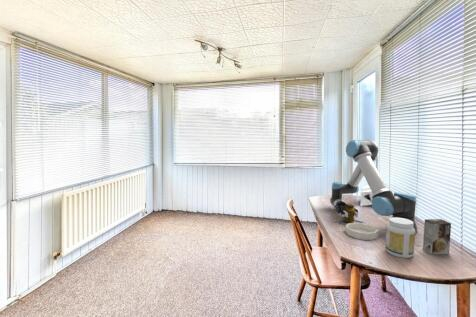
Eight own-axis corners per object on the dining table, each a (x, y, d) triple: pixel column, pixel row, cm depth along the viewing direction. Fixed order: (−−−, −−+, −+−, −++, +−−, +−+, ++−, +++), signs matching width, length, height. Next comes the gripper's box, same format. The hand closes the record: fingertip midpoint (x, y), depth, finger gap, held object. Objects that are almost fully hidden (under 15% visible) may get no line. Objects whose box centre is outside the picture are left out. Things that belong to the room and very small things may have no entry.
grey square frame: (363, 222, 172) (363, 221, 172) (356, 227, 162) (356, 227, 162) (342, 217, 181) (342, 217, 181) (334, 222, 171) (334, 221, 171)
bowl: (381, 234, 151) (381, 227, 151) (372, 242, 139) (372, 235, 139) (351, 226, 163) (352, 220, 163) (341, 234, 151) (341, 227, 150)
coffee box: (438, 248, 132) (441, 218, 131) (449, 254, 126) (452, 223, 124) (421, 248, 132) (424, 218, 130) (431, 254, 126) (434, 223, 124)
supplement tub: (403, 247, 133) (406, 216, 131) (419, 259, 121) (422, 225, 119) (380, 247, 133) (382, 216, 132) (393, 258, 121) (395, 224, 120)
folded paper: (362, 186, 207) (385, 189, 202) (357, 181, 230) (378, 184, 225) (359, 206, 209) (382, 210, 204) (355, 199, 232) (375, 202, 227)
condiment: (356, 222, 171) (357, 205, 169) (349, 225, 166) (349, 207, 165) (346, 219, 177) (347, 202, 175) (339, 221, 172) (340, 204, 171)
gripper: (353, 210, 188) (367, 221, 165) (327, 210, 190) (337, 220, 167) (353, 200, 188) (367, 210, 165) (327, 200, 189) (337, 209, 166)
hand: (352, 215), depth 166 cm, fingers closed on condiment, 6 cm apart
